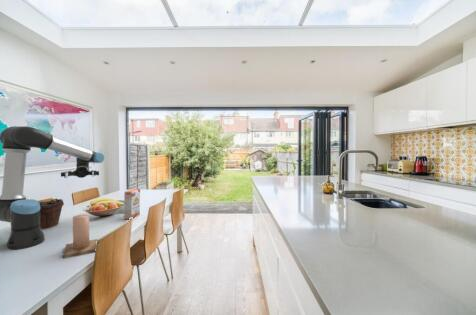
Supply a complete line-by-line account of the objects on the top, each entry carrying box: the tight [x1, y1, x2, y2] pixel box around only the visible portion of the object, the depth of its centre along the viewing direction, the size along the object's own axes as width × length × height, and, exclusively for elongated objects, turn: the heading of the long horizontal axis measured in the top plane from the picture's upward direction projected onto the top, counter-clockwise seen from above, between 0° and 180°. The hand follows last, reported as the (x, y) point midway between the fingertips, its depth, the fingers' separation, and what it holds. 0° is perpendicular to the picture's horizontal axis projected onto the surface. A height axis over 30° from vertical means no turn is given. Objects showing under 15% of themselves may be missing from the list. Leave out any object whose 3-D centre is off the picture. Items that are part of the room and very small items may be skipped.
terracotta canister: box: [72, 214, 90, 249], centre depth 117 cm, size 7×7×16 cm
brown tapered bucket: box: [39, 198, 65, 230], centre depth 150 cm, size 18×20×18 cm
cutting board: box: [62, 238, 98, 259], centre depth 117 cm, size 14×14×2 cm
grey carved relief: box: [113, 206, 124, 215], centre depth 187 cm, size 16×25×7 cm, turn 112°
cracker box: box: [123, 188, 141, 220], centre depth 172 cm, size 14×6×21 cm, turn 179°
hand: (79, 175), depth 138 cm, fingers open, 13 cm apart
